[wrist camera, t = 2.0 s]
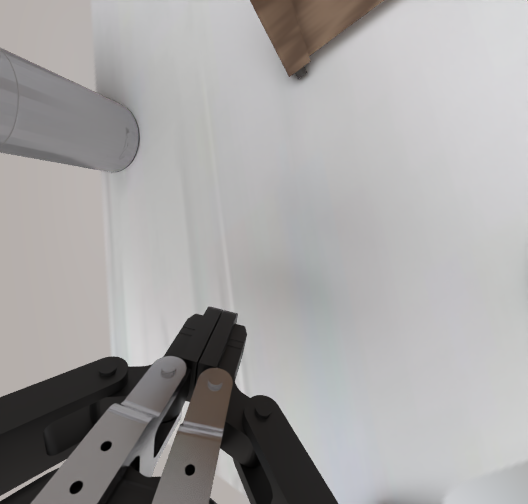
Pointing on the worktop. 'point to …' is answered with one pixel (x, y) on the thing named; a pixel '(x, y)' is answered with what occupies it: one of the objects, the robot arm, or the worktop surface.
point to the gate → (306, 26)
